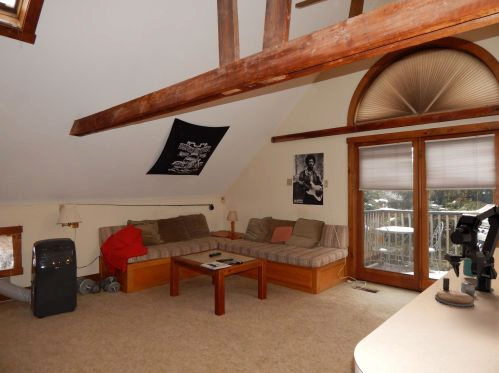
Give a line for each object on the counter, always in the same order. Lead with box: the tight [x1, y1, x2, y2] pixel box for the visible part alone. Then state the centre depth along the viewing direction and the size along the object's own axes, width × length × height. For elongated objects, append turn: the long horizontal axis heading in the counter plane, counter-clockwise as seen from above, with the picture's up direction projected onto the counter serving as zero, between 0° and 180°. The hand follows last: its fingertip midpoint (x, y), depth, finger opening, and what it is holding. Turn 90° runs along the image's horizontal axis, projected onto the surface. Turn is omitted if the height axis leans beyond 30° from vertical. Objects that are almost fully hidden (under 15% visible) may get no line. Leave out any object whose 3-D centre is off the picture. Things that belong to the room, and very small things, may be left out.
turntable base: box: [434, 293, 475, 309], centre depth 143 cm, size 14×14×1 cm
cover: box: [460, 281, 476, 298], centre depth 151 cm, size 5×5×5 cm
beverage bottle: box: [462, 260, 477, 278], centre depth 174 cm, size 6×7×20 cm
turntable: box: [436, 277, 474, 304], centre depth 144 cm, size 15×13×6 cm
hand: (468, 277), depth 151 cm, fingers open, 9 cm apart
